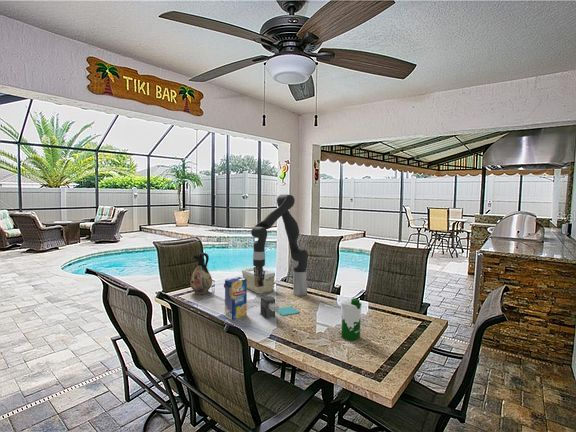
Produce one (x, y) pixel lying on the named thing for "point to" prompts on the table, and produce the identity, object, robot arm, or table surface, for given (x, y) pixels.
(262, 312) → the block
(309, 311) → the table surface
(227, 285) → the blue yellow food box
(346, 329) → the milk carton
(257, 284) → the block
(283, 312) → the mat
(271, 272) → the storage basket
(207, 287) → the ceramic jug
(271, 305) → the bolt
